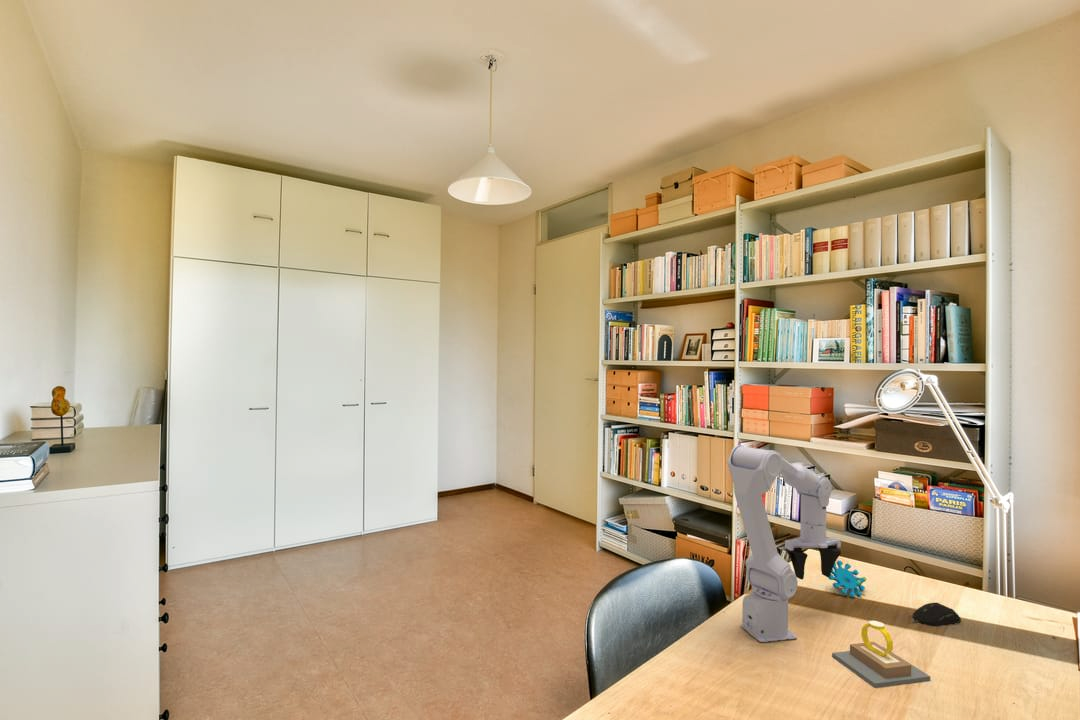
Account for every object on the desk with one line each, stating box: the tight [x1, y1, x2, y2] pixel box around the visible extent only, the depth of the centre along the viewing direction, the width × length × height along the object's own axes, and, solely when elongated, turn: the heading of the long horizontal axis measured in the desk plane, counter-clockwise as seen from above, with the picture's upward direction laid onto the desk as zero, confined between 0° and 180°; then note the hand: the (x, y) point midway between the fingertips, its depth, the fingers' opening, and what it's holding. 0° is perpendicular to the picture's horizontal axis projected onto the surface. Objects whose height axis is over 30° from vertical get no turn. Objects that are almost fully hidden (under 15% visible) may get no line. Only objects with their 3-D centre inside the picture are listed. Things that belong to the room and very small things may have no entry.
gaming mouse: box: [910, 602, 962, 627], centre depth 129 cm, size 6×15×4 cm, turn 106°
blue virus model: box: [827, 559, 867, 599], centre depth 146 cm, size 11×6×10 cm
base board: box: [831, 641, 931, 688], centre depth 108 cm, size 13×11×3 cm
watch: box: [860, 620, 894, 656], centre depth 109 cm, size 6×3×6 cm, turn 20°
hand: (812, 576), depth 131 cm, fingers open, 7 cm apart
